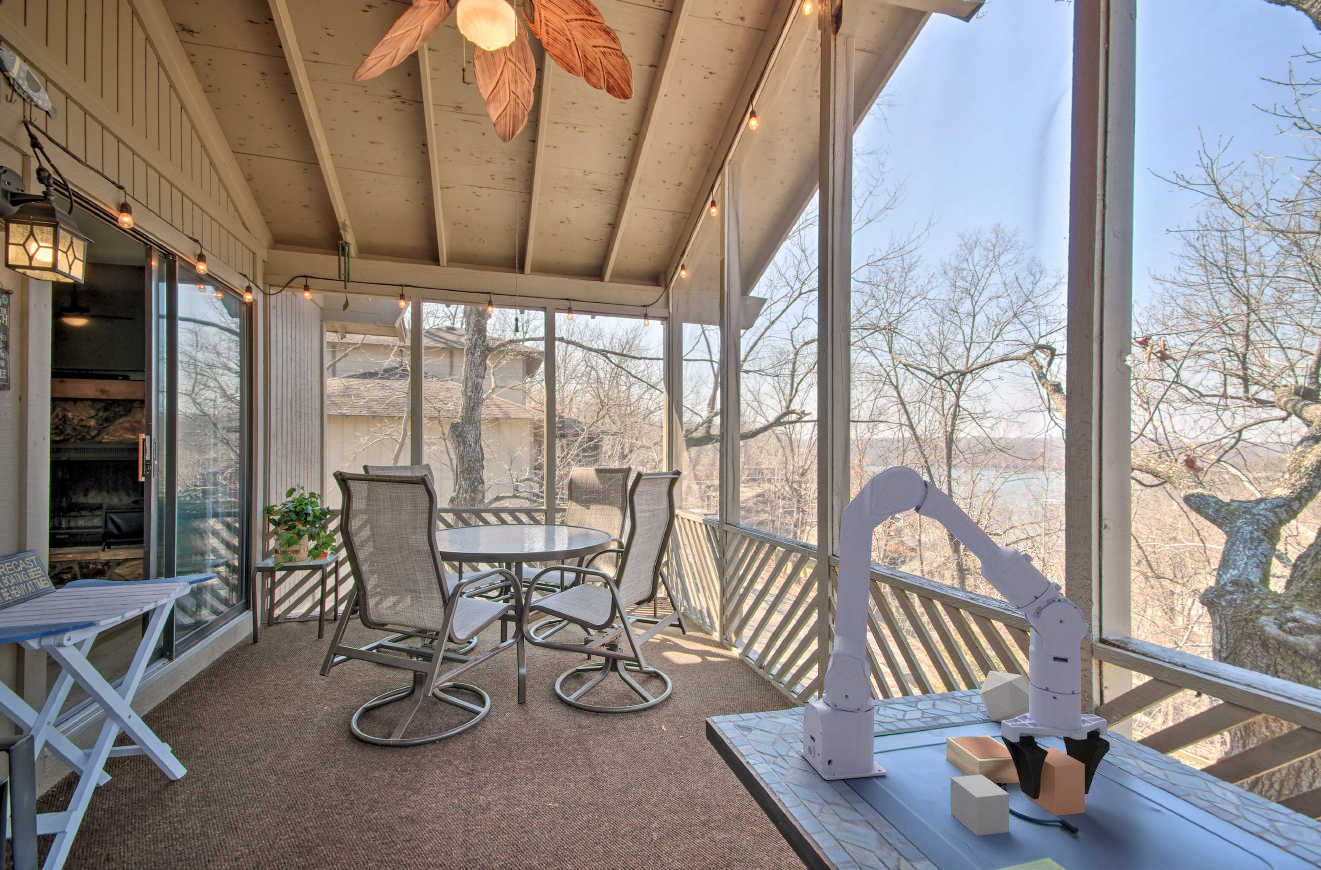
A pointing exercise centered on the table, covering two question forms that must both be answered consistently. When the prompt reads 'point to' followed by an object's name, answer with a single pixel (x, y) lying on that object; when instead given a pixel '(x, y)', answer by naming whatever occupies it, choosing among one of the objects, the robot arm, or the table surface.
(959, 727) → the table surface
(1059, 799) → the terracotta block
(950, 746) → the maple base
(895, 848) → the table surface
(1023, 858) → the table surface
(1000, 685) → the die
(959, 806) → the grey block
